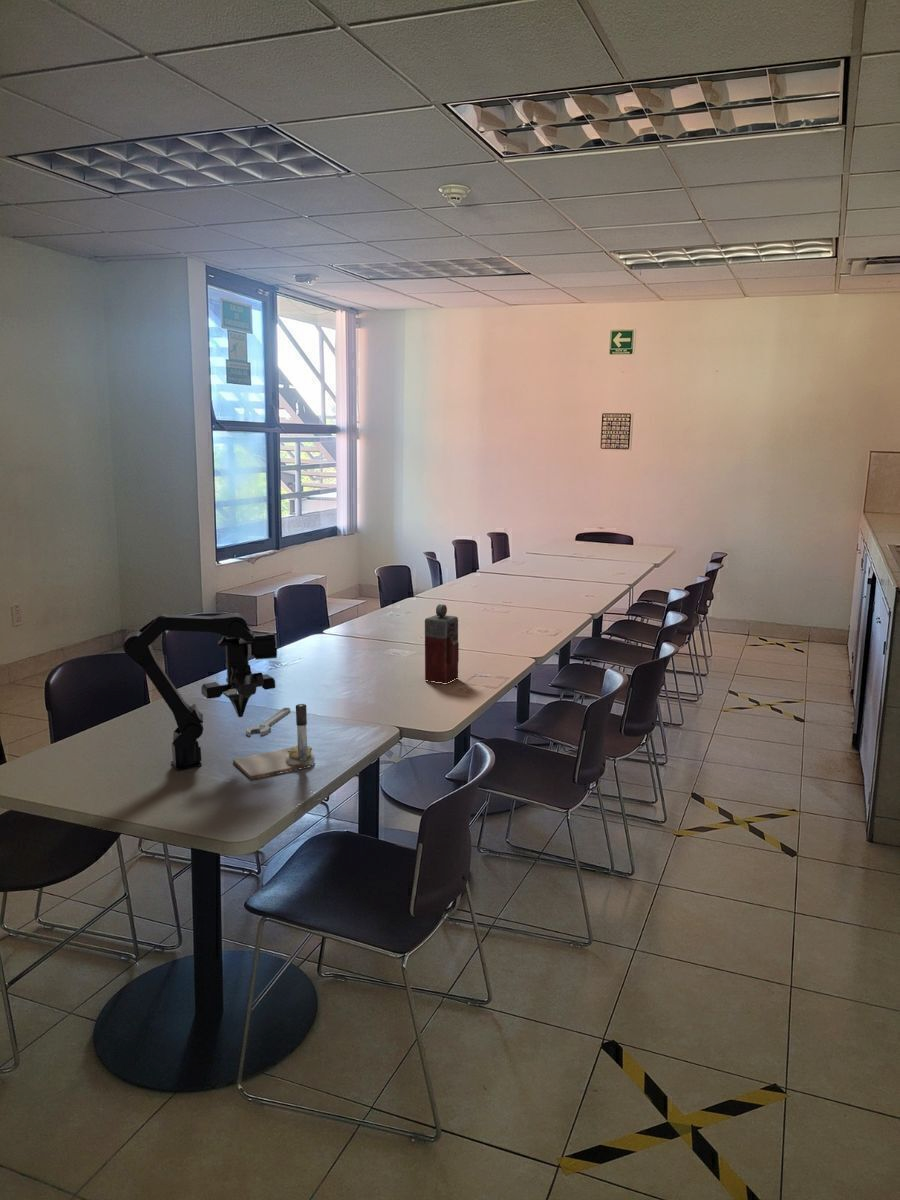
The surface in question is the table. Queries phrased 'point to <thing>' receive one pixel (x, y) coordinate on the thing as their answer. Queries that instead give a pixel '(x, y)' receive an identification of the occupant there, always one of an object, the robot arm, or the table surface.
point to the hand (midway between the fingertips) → (240, 716)
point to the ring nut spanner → (301, 735)
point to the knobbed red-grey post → (441, 646)
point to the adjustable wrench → (268, 723)
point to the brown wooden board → (270, 763)
